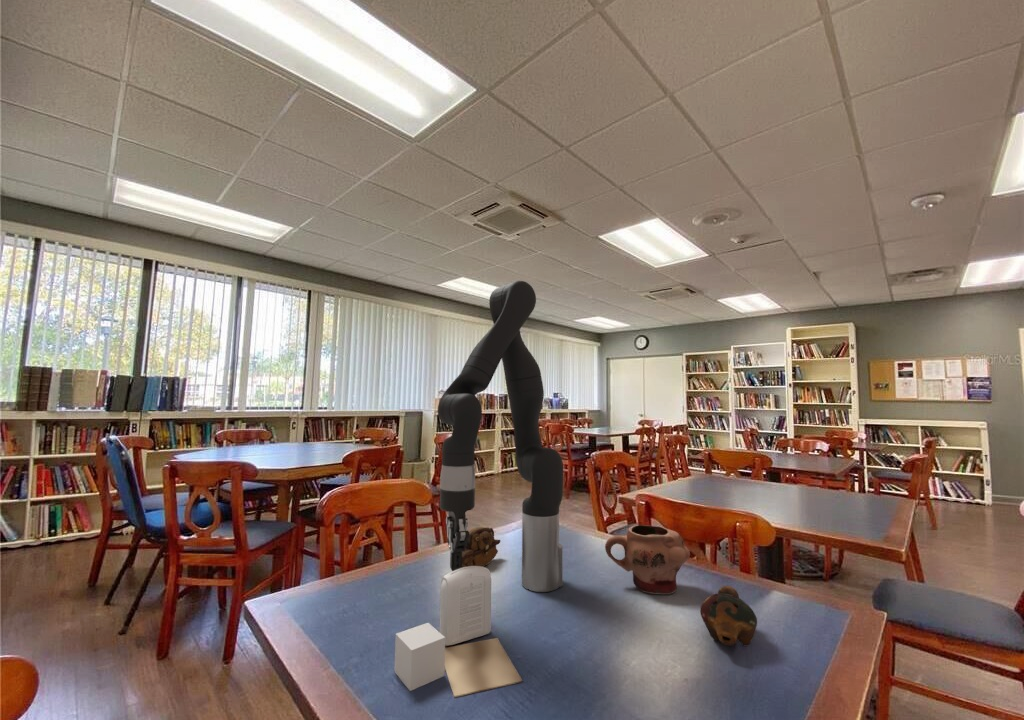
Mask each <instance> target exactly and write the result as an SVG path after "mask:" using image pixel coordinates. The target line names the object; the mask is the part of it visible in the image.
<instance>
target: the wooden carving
mask: <svg viewBox="0 0 1024 720" xmlns="http://www.w3.org/2000/svg"><path fill="white" fill-rule="evenodd" d="M500 543H501V539H495V531H494V529H493V528H492V527H489V526H486V527H483V526H482V527H481V526H480V527H479V526H477V527H474V528H472V529H471V530H469V538H468V542H467V546H466V550H465V551H464V552H462V568H463V567H468V566H481V567H486V566H487V565H489V564H490V563H491V562H492V561H493V560H494V559H495V557H496V556H497V554H498V553H499V550H498V549H497V546H498V545H499V544H500ZM485 565H486V566H485Z"/></svg>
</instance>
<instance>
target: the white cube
mask: <svg viewBox="0 0 1024 720" xmlns="http://www.w3.org/2000/svg"><path fill="white" fill-rule="evenodd" d="M445 648H446V646H445V637H444V636H443V635H442V634H441V633H440V632H439V630H437V628H435V627H434V626H433V625H432V624H431V623H430V622H426V623H423V624H419V625H417V626H415V627H414V626H413V627H412V628H408V629H406V630H402V631H399V632H396V633H395V644H394V670H393V671H394V673H395V674H396V675H397V677H398V679H400V681H401V682H402V683H403V684H404V686H405V687H406V688H407V689H408V690H409V691H410V692H411V691H413V690H417V689H418V688H421V687H422V686H424V685H427V684H429V683H431V682H433V681H436V680H438V679H441V678H443V677H445Z"/></svg>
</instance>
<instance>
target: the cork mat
mask: <svg viewBox="0 0 1024 720" xmlns="http://www.w3.org/2000/svg"><path fill="white" fill-rule="evenodd" d="M444 671H445V673H446V677H447V679H448V682H449V685H450V688H451V691H452V694H453V695H452V696H453V698H457V697H458V698H459V697H462V696H463V697H464V696H466V695H472V694H475V693H480V692H485V691H488V690H493V689H497V688H502V687H506V686H511V685H514V684H518V683H522V682H523V680H522V677H521V676H520V674H519V673H518V670H517V669H516V667H515V665H514V664H513V662H512V661H511V659H510V657H509V655H508V653H507V652H506V650H505V649H504V647H503V645H502V643H501V642H500V640H499V638H498V637H495V638H489V639H485V640H479V641H473V642H468V643H463V644H458V645H454V646H453V645H451V646H445V667H444Z"/></svg>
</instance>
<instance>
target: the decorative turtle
mask: <svg viewBox="0 0 1024 720" xmlns="http://www.w3.org/2000/svg"><path fill="white" fill-rule="evenodd" d="M699 611H700V612H699V613H700V616H701V619H702V621H703V623H704V625H705V627H706V630H707V631H708V633H709V635H710V636H711V638H712V640H714V641H716V642H718V641H720V643H722V645H724V646H728V647H732V646H734V645H736V643H737V641H738V642H739V643H741V645H742V646H744V647H748V646H750V644H751V642H752V640H753V639H754V635H755V632H756V629H757V626H758V618H757V615H756V613H755V612H754V610H753V609H752V608H751V607H750V605H749V604H748V603H747V602H745V601H744V600H743V599H741V598H740V597H739V593H738V591H737V590H736V589H735V588H734V587H733V586H730V585H723V586H722V587H720V588H719V589H718V591H717V593H715V594H712V595H710V596H707V598H706V599H704V601H703V602H702V603H701V606H700V609H699Z"/></svg>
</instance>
